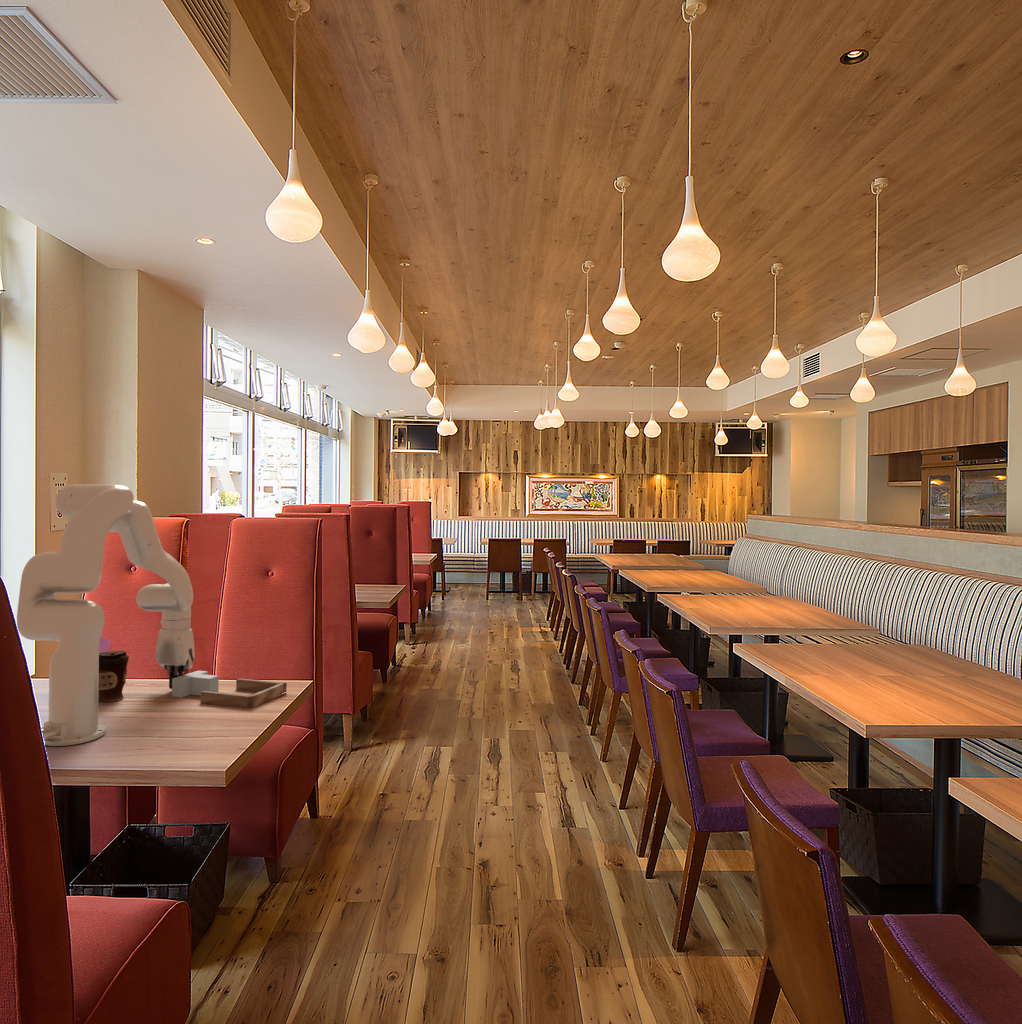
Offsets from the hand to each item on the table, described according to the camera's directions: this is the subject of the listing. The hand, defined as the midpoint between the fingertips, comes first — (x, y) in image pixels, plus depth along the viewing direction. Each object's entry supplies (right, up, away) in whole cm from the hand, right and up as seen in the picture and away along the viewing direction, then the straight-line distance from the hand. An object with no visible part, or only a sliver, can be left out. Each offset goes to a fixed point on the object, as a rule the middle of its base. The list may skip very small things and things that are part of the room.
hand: (175, 687), depth 189 cm
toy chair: (-22, -1, +1) cm, 22 cm away
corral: (+22, -1, -6) cm, 23 cm away
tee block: (+8, -1, -2) cm, 9 cm away
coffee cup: (-13, -1, -10) cm, 16 cm away
